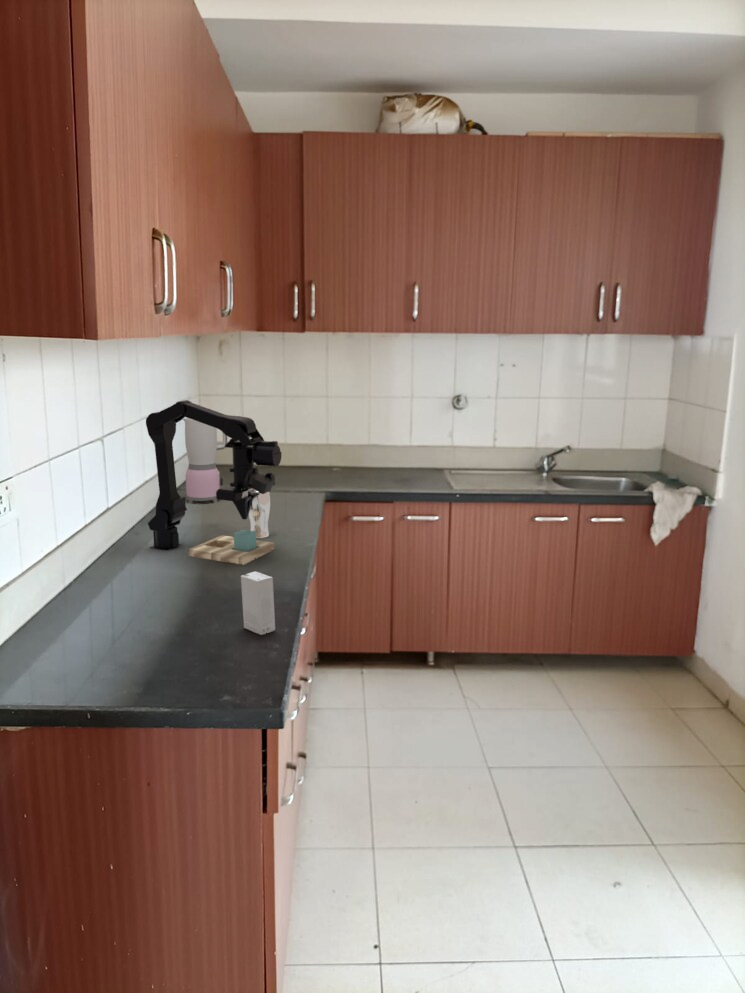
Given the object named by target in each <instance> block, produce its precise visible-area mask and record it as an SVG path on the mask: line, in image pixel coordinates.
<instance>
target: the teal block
mask: <svg viewBox="0 0 745 993" xmlns="http://www.w3.org/2000/svg"><path fill="white" fill-rule="evenodd" d="M233 537H234V550H238V551H245V552H250V551H252V550H254V549H256V548H257V539H258V538H256V531H250V530H248V529H247V530H246V529H241V530H239V531H236V532H234V533H233Z"/></svg>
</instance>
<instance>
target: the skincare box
mask: <svg viewBox="0 0 745 993" xmlns="http://www.w3.org/2000/svg"><path fill="white" fill-rule="evenodd" d="M273 578H274V577H272V576H271V575H270V576H269V575H267V574H264V573H261V572H259V571H255V570H254V571H251V572H248V573H245V574H242V575H240V584H241V601H242V615H243V616H242V617H243V627H244V629H247V630H248V631H250V632H253V633H256V634H257V635H260V636H262V635H266V633H267V634H270V633H272V632H275V631H276V617H275V616H276V615H275V602H274V601H275V599H274V598H275V597H274V594H275V593H274V579H273Z"/></svg>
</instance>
